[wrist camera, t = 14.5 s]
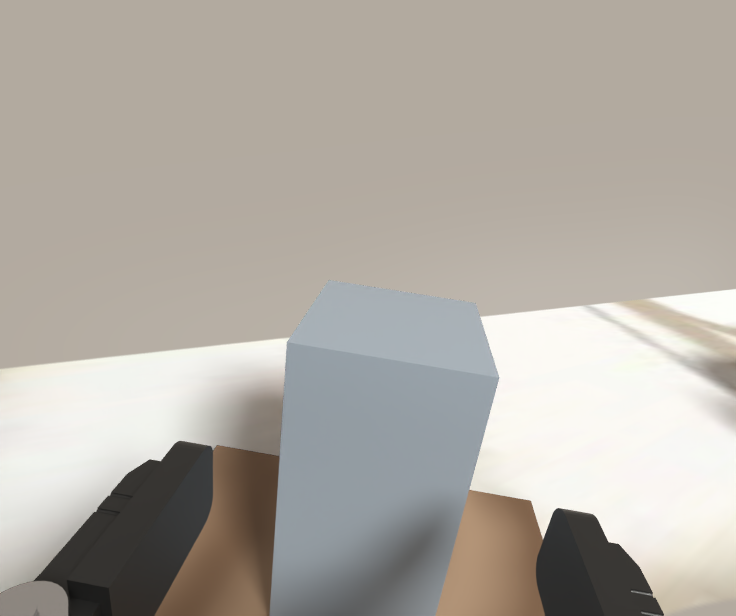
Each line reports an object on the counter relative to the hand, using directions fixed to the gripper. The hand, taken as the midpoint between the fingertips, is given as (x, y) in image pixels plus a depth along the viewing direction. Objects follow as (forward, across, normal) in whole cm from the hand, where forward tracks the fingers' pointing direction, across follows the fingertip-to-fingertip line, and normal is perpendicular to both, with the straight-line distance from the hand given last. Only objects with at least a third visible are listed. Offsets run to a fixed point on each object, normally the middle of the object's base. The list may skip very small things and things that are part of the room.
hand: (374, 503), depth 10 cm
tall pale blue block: (+6, 0, +10) cm, 12 cm away
